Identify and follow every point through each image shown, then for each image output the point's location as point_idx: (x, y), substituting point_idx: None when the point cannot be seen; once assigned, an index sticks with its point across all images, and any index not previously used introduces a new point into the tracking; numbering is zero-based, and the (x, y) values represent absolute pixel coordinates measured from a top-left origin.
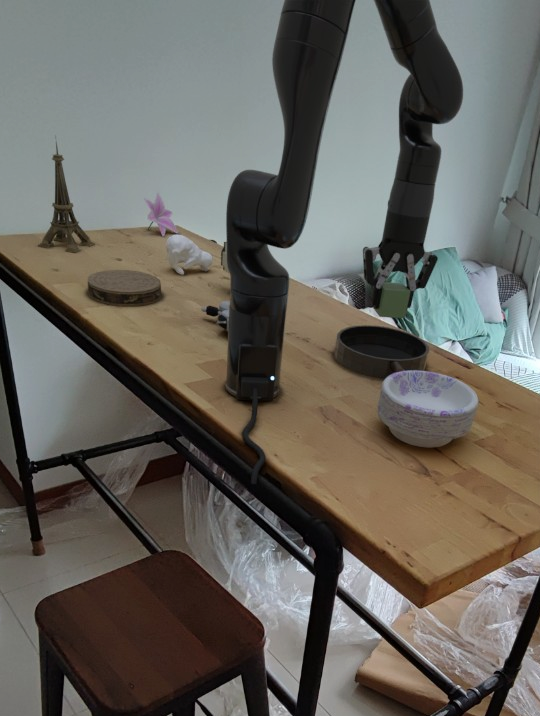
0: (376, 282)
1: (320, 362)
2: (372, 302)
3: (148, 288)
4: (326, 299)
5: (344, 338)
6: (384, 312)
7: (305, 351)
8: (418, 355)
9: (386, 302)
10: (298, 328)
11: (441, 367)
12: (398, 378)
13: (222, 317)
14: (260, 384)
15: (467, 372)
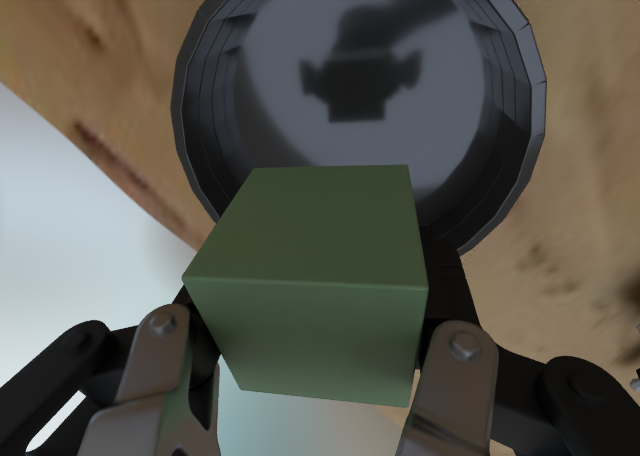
0: (493, 377)
1: (583, 95)
2: (455, 252)
3: None
4: (388, 411)
5: (448, 232)
6: (382, 176)
7: (586, 183)
8: (221, 168)
9: (382, 213)
10: (517, 315)
11: (154, 121)
12: None
13: None
14: None
15: (74, 94)
